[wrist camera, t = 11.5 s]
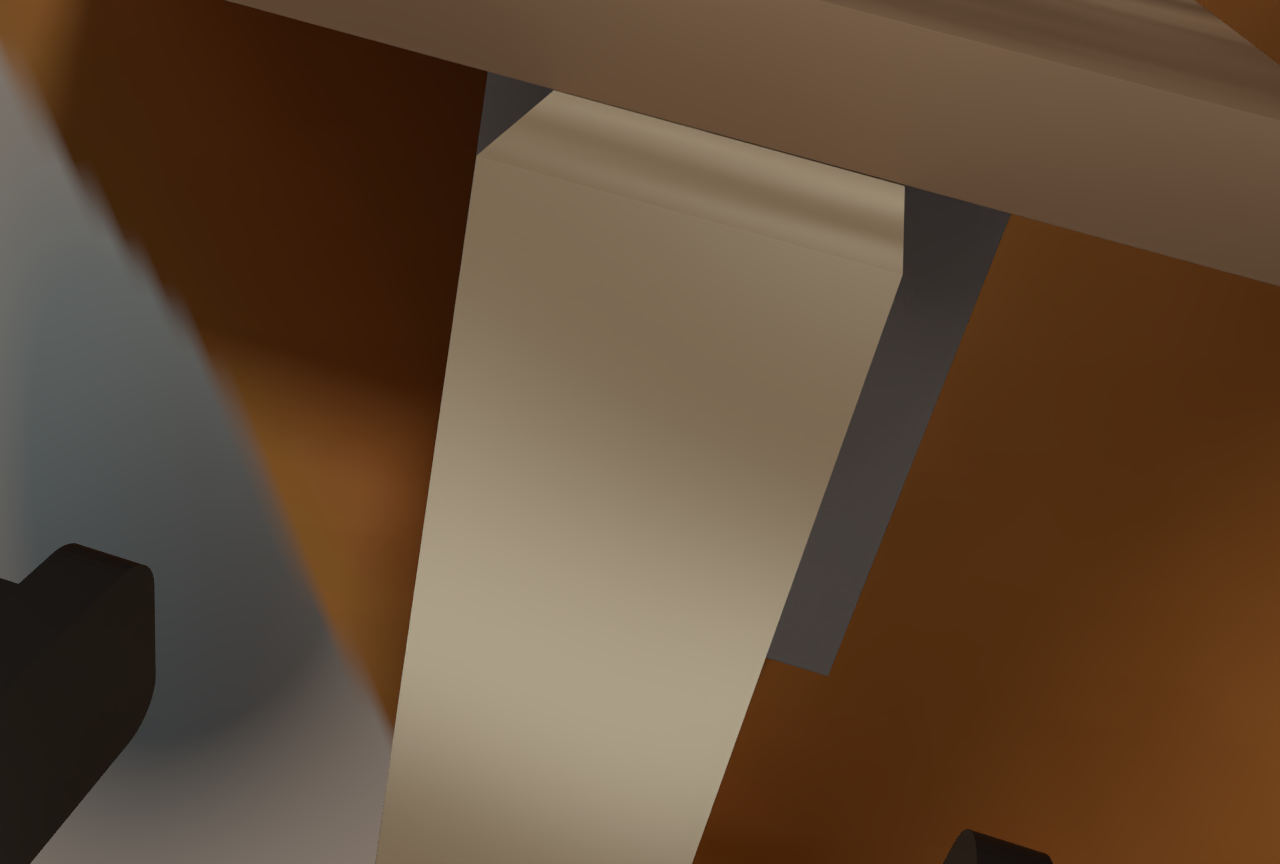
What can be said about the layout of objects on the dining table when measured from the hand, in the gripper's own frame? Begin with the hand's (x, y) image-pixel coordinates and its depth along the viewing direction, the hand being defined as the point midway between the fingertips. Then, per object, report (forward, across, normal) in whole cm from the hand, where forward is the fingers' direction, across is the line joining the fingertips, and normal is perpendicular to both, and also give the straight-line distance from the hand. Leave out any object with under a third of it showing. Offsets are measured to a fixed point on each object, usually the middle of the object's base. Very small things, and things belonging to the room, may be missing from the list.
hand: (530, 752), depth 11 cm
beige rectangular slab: (+11, 0, 0) cm, 11 cm away
